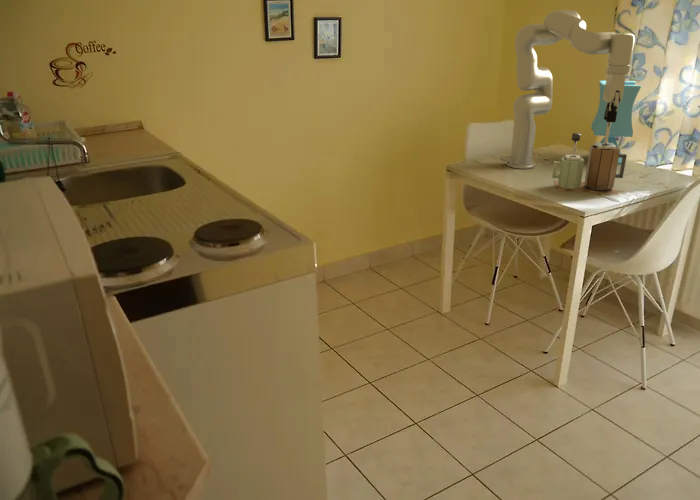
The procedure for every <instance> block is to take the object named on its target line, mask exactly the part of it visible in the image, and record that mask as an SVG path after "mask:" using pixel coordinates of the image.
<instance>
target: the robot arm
mask: <svg viewBox="0 0 700 500" xmlns="http://www.w3.org/2000/svg"><path fill="white" fill-rule="evenodd" d="M543 22H544V23H532V24H531V23H530V24H526V25H525V26H522V27H521V28H520V29H519V30H518V31H517V33H516V35H515V39H514V50H515V55H516V85H517V86H516V87H517V88H518V89H519V90H520V91H521V92H528V91H529V92H530V91H534V93H526V94H522V95H519V96H517V97H516V98H515V99H514V101H513V104H512V105H513V106H512V107H513V108H512V110H513V128H512V140H511V149H510V153H509V155H500V156H499V160H500V161H503V162H505V161H506V166H507V167H509V168H513V169H519V170H520V169H521V170H523V169H533V168H534V167H535V166H536V163H535V162H533V156H534V155H533V154H534V146H535V139H536V129H537V127H536V121H535V119H534V117H536V116H543V115H545V114H548V113H549V112H550V111H551V109H552V106H553V95H554V94H553V91H554V90H553V87H554V86H553V85H554V84H553V82H554V79H553V75H552V72H551V71H550V69H549V68H548V67H544V66H538V55H537V52H536V49H535V48H534V46H551V45H554V44H556V43H558V42H559V41H562V40H563V39H565V40H567V41H568V42H569V44H570V46H571V47H572V48H573V49H575V50H577V51H580V52H582V53H584V54H586V55H592V56H593V55H607V54H608V59H607V65H606V73H605V74H606V75H607V77H606V79H605V81H606V84H605V89H604V94H603V99H604V100H605V101H606V102H607V104H606V109H607V108H609V111H608V113H607V117H605V115H606V109H605V115H604V120H606V122H615V121H616V116H617V110H618V105H619V103H620V102H621V101H622V98H623V92H624V85H625V81H626V76H627V75H629V73H630V68H631V62H632V56H633V51H634V45H635V39H636V37H635V35H634V34H633V33H619V32H614V31H604V32H603V31H602V32H601V31H599V32H598V31H597V32H593V31H589V30H587V23H586V22H585V20H584V19H582V18H581V16H580V14H579V13H578V12H577V11H576V10H574V9H573V10H572V9H559V10H558V9H556V10H553V11H551V12H550V11H549V13H548V14H547V15H546V16H545V17H544V21H543Z"/></svg>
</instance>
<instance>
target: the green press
mask: <svg viewBox="0 0 700 500" xmlns="http://www.w3.org/2000/svg"><path fill="white" fill-rule="evenodd" d="M560 159H561V161H560V160H554V161H553V167H552V176H551V178H552V179H558V180H557V181H558V183H559V184H558V186H559V187H561V188H564V189H578V188H580V185H581V182H582V179H583V170H584V166H585V165H584V164H585V159H584V158H582V157H581V155H580V154H575V157H572V154H565V155H564V156H563V157H561V158H560ZM558 166H559V174H557V167H558Z"/></svg>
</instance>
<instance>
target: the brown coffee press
mask: <svg viewBox="0 0 700 500" xmlns="http://www.w3.org/2000/svg"><path fill="white" fill-rule="evenodd" d="M603 149H606V150H603ZM620 152H621V148H620V146H618V147H617V146H615V145H614V144H613V143H607V146H604V143H600V142H594V144H592V145H589V152H588V159H587V165H586V171H585V177H584V182H585V188H587V189H589V190H593V191H610V190H612V188H613V187H614V185H615V181H616V180H615V179H623V178H624V172H625V168H626V162H627V154H626V153H621V154H619V153H620ZM619 157H620V158H622V162H621V165H620V168H619V173H617V167H618V165H619V164H618V158H619Z"/></svg>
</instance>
